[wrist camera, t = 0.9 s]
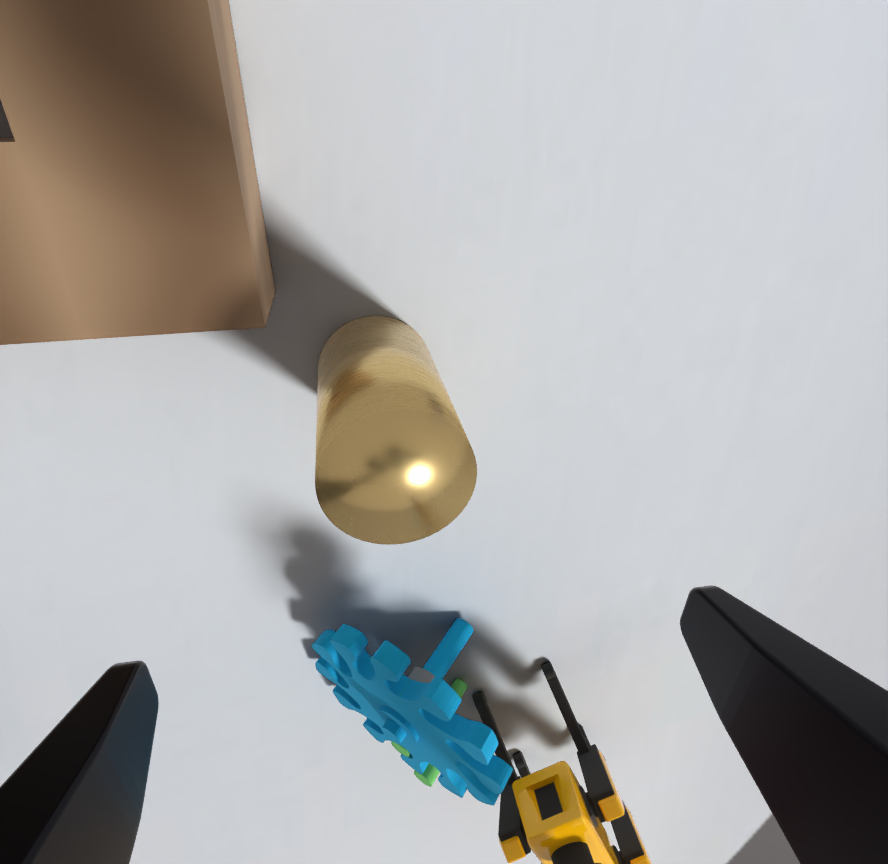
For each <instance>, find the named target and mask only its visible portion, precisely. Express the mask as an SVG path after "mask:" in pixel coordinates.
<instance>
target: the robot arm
mask: <svg viewBox="0 0 888 864" xmlns="http://www.w3.org/2000/svg"><path fill="white" fill-rule="evenodd" d="M680 626H681V631H682V634H683V637H684V639H685V641H686V643H687V646H688V648H689V650H690V652H691V655H692V657H693V659H694V662H695V664H696V666H697V668H698V671H699V673H700V675H701V678H702V680H703V682H704V684H705V687H706V689H707V691H708V693H709V696H710V698H711V700H712V703H713V705H714V707H715V709H716V711H717V713H718V715H719V717H720V719H721V721H722V723H723V725H724V727H725V729H726V731H727V732H728V734H729V736H730V738H731V740H732V741H733V743H734V745H735V747H736V749H737V750H738V752H739V754H740V756H741V758H742V759H743V761H744V763H745V765H746V767H747V768H748V770H749V772H750V774H751V776H752V777H753V779H754V781H755V783H756V785H757V786H758V788H759V790H760V792H761V794H762V795H763V797H764V799H765V801H766V803H767V804H768V806H769V808H770V810H771V812H772V813H773V815H774V817H775V819H776V820H777V822H778V824H779V826H780V828H781V829H782V831H783V833H784V835H785V837H786V839H787V840H788V842H789V844H790V846H791V847H792V849H793V851H794V853H795V855H796V857H797V858H798V860H799V862H800V864H888V691H887V690H885V689H884V688H882V687H880V686H879V685H877V684H875V683H874V682H872V681H871V680H869V679H867V678H866V677H864V676H862V675H861V674H859V673H858V672H856V671H854V670H853V669H851V668H849V667H848V666H846V665H845V664H843V663H841V662H840V661H838V660H836V659H835V658H833V657H832V656H830V655H828V654H827V653H825V652H823V651H822V650H820V649H818V648H817V647H815V646H814V645H812V644H810V643H809V642H807V641H805V640H804V639H802V638H801V637H799V636H797V635H796V634H794V633H792V632H791V631H789V630H788V629H786V628H784V627H783V626H781V625H779V624H778V623H776V622H775V621H773V620H771V619H770V618H768V617H766V616H765V615H763V614H761V613H760V612H758V611H757V610H755V609H753V608H752V607H750V606H748V605H747V604H745V603H744V602H742V601H740V600H739V599H737V598H735V597H734V596H732V595H731V594H729V593H727V592H726V591H724V590H722V589H721V588H719V587H716V586H704V587H696V588H693V589H692V590H691V591H690V593H689V595H688V598H687V601H686V604H685V607H684V610H683V613H682V616H681V619H680ZM157 713H158V694H157V691H156V689H155V686H154V683H153V681H152V678H151V676H150V673H149V670H148V668H147V666H146V664H145V663H144V662H143V661H132V662H124V663H118V664H115V665H113V666H111V667H110V668H109V669H108V670H107V671H106V672H105V673H104V674H103V675H102V676H101V677H100V678H99V679H98V681H97V682H96V683H95V684H94V685H93V686H92V687H91V688H90V689H89V690H88V692H87V693H86V694H85V695H84V696H83V697H82V698H81V699H80V700H79V701H78V702H77V704H76V705H75V706H74V707H73V708H72V709H71V710H70V711H69V712H68V713H67V714H66V716H65V717H64V718H63V719H62V720H61V721H60V722H59V723H58V724H57V725H56V727H55V728H54V729H53V730H52V731H51V732H50V733H49V734H48V735H47V736H46V737H45V739H44V740H43V741H42V742H41V743H40V744H39V745H38V746H37V747H36V748H35V749H34V751H33V752H32V753H31V754H30V755H29V756H28V757H27V758H26V759H25V760H24V761H23V763H22V764H21V765H20V766H19V767H18V768H17V769H16V770H15V771H14V772H13V774H12V775H11V776H10V777H9V778H8V779H7V780H6V781H5V782H4V783H3V784H2V786H1V787H0V864H129V862H130V858H131V855H132V851H133V847H134V843H135V840H136V835H137V831H138V827H139V823H140V819H141V813H142V807H143V802H144V796H145V789H146V783H147V777H148V770H149V764H150V758H151V751H152V745H153V739H154V732H155V726H156V720H157Z"/></svg>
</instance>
